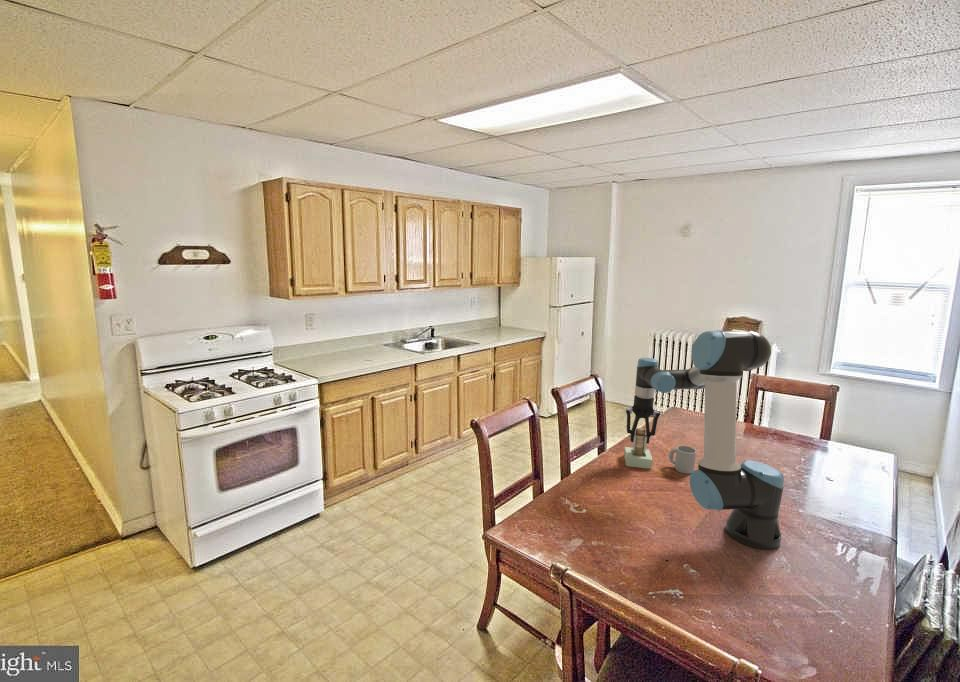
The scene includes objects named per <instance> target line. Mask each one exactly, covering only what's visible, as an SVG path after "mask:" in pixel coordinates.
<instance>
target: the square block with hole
mask: <svg viewBox="0 0 960 682" xmlns="http://www.w3.org/2000/svg"><path fill="white" fill-rule="evenodd" d="M623 457H624V461H625V462H624V463H625V466H626V467H631V468H641V469H649V470H652V468H653V461H654V459H653V457H652V453H651V450H650V449H648V448H646V452H644V451H643V456H634V451H633V449H632V447H631V446H630V447H627V446H624V452H623Z"/></svg>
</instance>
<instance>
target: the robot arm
mask: <svg viewBox="0 0 960 682" xmlns="http://www.w3.org/2000/svg"><path fill="white" fill-rule="evenodd" d="M696 337H697V338H696V339H694V342H693V344H692V347H691V353H690V354H691V355H690V356H691V357H690V358H691V361H692V362H693V363H692V364H693V366H692V367H690V368H687V369H661V368H659V366H658V365H659V364H658V362H659V361H658V360H657V359H655V358H653V357H640V358H638V359H637V360H638V361H637V366H636V373H635V374H636V375H635V388H634V398H633V405H632V407H630V408H625V413H626V433H627V434H629V435H630V442H631V443H632V446H631V448H632V449H633V451H635V443H636V429H637V428H638V424H639V421H640V419H644V424H645V439H644V449H643V451H644V452H646V449H647V444H649V443H650V438H651V437H652V436H653V437H654V436H656V431H657V424H658V419H659V418H660V415H661V413H660V412H659V411H656V410H655V409H654V401H655V398H654V397H655V392H656V391H658V392H660V393H663V394H668V393H669V392H672V391H673V390H702V389H703V390H704V415H703V416H704V419H703V421H704V422H703V425H704V430H703V433H704V434H703V435H704V436H703V457H702V458H700V460H698V462H697V463H698V465H697V466H698V467H697V469H696V470H695V469H694V471H693V472H692V473H691V474H689V475H690V476H689V487H690V491H691V494H692V496H693V497H694V500H695V501H696V502H697V504H698V505H699V506H700V507H702V508H703V509H705V510H710V511H711V510H712V511H724V510H725V511H726V510H731V512H730V514H729V516H728V517H727V519H726V523H725V530H726V532H727V534H728V535H729V536H730V537H732V538H733V539H734V540H736V541H737V542H739V543H741V544H743V545H746V546H747V547H751V548H754V549H758V550H759V549H761V550H773V549H777V548H779V546H781V542H782V541H781V540H782V533H781V528H780V523H779V519H778V518H779V512H780V506H781V502H782V498H783V491H784V489H785V488H784V484H785V483H784V481H785V479H784V478H785V477H784V475H783V474H782V472H781V471H779V470H778V469H777V468H774V467H773V466H770V465H769V464H766V463H763V462H760V461H756V460H749V459H748V460H744V461H742V462H741V464H739V463H738V462H737V461H736V452H737V449H736V447H737V445H736V442H737V440H736V439H737V438H736V437H737V394H738V393H737V387H738V385H737V384H738V383H737V382H738V381H739V380H740V379H741V378H742V377H743V373H744V372H750V371H752V370H756V369H759V368H760V367H761V368H762V367H763V366H765V365H766V364H767V363H768V361H769V360H770V358H771V356H772V347H771V343H770V342H769V340H768V339H767V338H766V337H765V336H764V335H762V334H761V333H759V332H756V331H754V330H753V331H752V330H718V329H716V330H708V331H707V330H706V331H704V332H702V333H700V334H699V335H698V336H696ZM632 413H634V415H635V416H634V420H633V423H632V427H631V415H632ZM652 415H653V418H652V425H651V429H650V416H652Z"/></svg>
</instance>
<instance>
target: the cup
mask: <svg viewBox="0 0 960 682" xmlns="http://www.w3.org/2000/svg"><path fill="white" fill-rule="evenodd" d="M674 454H675V459H674ZM696 457H697V449H695V448H693V447H691V446H689V445H688V446H687V445H678V446H676V448H672V449H671V450H670V451H669V452H668V458H669V461H670V463H671V464H672V465H674V469H675V470H676V471H677V472H678V473H681V474H685V475H686V474H687V475H691V474H692V472H693V471H695V465H696Z"/></svg>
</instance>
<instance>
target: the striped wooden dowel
mask: <svg viewBox="0 0 960 682" xmlns="http://www.w3.org/2000/svg"><path fill="white" fill-rule="evenodd" d="M635 433H636V443H635V451H634V456H643V449H644V439H645V434H646V429H644V428H640V427H639V428H638V427H637V428H636V431H635Z"/></svg>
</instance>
